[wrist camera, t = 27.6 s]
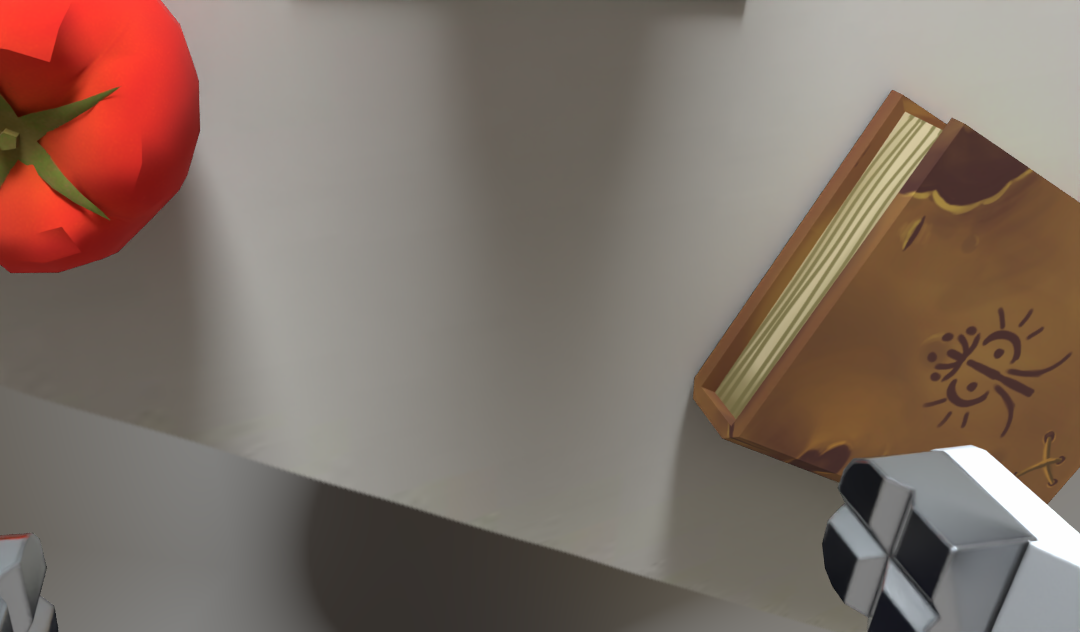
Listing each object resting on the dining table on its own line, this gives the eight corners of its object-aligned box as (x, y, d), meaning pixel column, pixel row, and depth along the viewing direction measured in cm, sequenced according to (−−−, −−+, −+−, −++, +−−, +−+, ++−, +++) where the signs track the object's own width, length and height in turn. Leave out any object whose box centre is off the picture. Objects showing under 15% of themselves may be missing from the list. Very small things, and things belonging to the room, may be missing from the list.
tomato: (265, 66, 39) (268, 134, 31) (71, 264, 40) (28, 374, 33) (28, -152, 33) (-40, -135, 25) (-185, 88, 35) (-307, 170, 27)
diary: (684, 387, 52) (729, 448, 47) (889, 88, 47) (963, 123, 42) (949, 494, 62) (1008, 553, 57) (1144, 259, 57) (1227, 303, 52)
